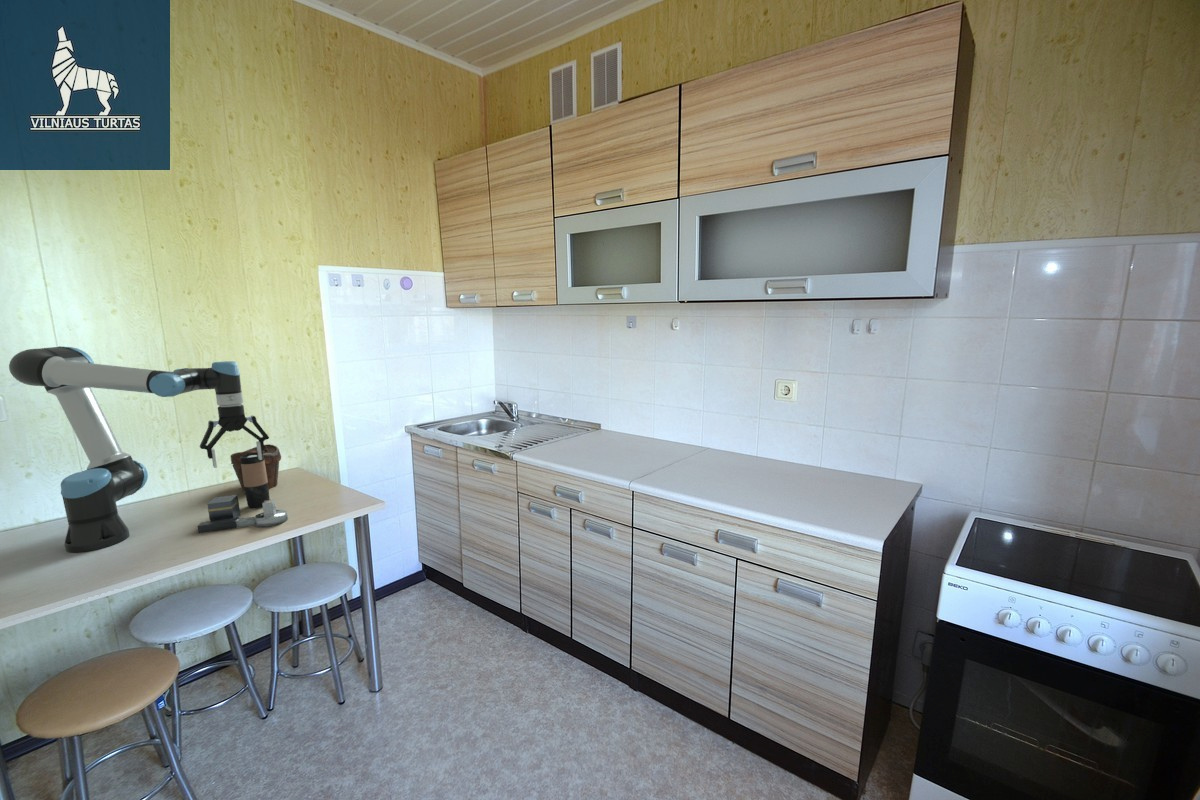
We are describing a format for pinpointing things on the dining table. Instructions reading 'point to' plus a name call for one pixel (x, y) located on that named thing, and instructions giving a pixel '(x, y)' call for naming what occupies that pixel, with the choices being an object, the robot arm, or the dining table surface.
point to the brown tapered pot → (271, 463)
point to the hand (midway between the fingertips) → (238, 463)
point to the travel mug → (254, 480)
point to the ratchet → (248, 520)
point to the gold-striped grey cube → (224, 508)
